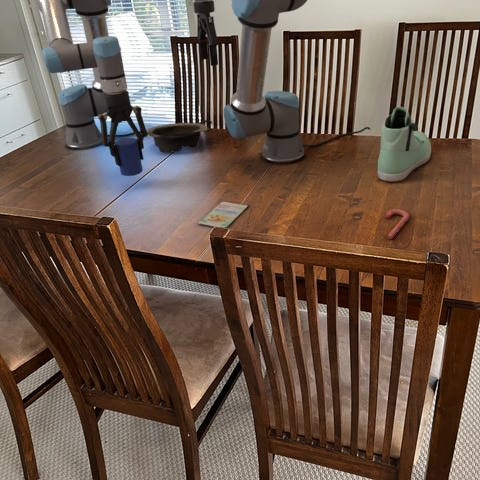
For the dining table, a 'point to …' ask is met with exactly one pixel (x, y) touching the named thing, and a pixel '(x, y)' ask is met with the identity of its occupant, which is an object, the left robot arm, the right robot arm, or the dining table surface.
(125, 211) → the dining table surface
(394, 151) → the sneaker
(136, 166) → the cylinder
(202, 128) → the stone bowl
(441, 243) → the dining table surface
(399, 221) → the candy cane
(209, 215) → the baking ingredient package
